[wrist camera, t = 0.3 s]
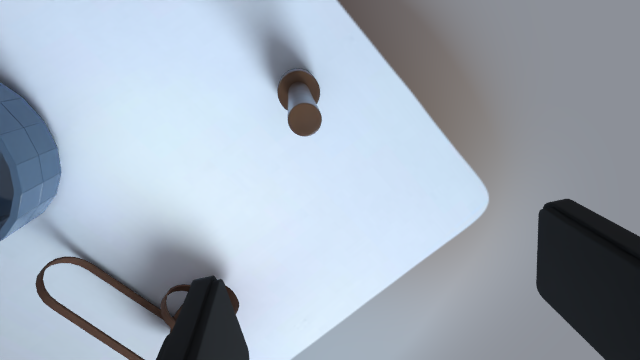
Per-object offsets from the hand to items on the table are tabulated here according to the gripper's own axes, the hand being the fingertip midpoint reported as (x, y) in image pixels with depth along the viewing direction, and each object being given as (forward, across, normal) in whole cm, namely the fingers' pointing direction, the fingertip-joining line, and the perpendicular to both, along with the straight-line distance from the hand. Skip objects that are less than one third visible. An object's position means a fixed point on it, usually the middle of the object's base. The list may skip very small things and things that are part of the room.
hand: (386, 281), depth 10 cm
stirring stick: (+25, +1, -3) cm, 25 cm away
